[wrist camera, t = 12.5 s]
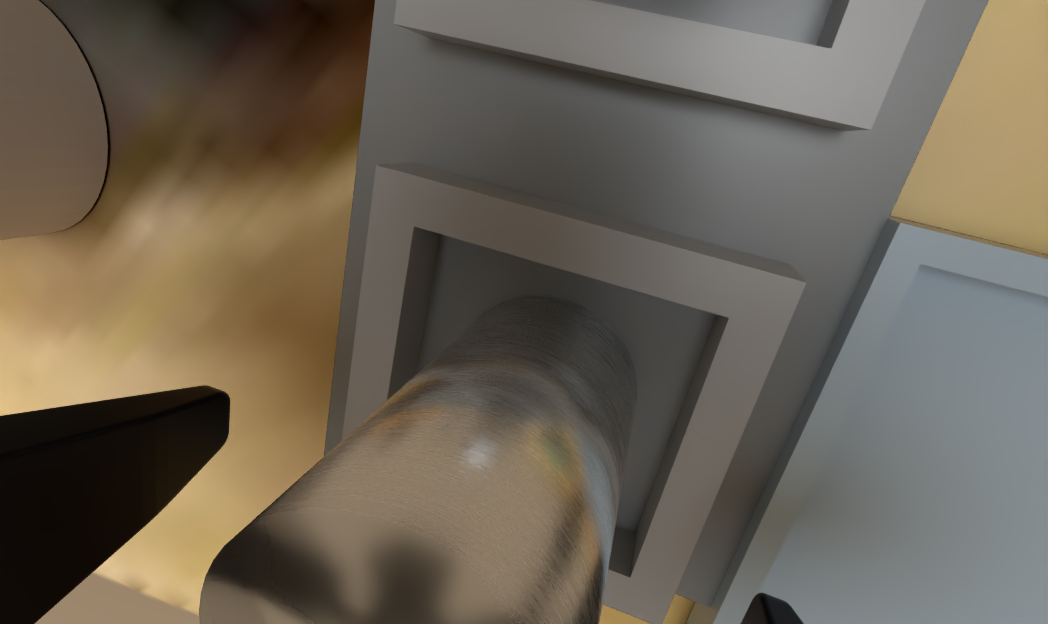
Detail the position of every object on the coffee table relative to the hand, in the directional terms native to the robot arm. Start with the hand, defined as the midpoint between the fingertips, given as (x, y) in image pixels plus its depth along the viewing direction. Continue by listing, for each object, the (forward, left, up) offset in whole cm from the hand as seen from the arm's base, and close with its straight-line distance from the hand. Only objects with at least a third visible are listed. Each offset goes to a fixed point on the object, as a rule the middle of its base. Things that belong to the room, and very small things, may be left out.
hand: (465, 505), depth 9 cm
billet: (0, 0, -5) cm, 5 cm away
